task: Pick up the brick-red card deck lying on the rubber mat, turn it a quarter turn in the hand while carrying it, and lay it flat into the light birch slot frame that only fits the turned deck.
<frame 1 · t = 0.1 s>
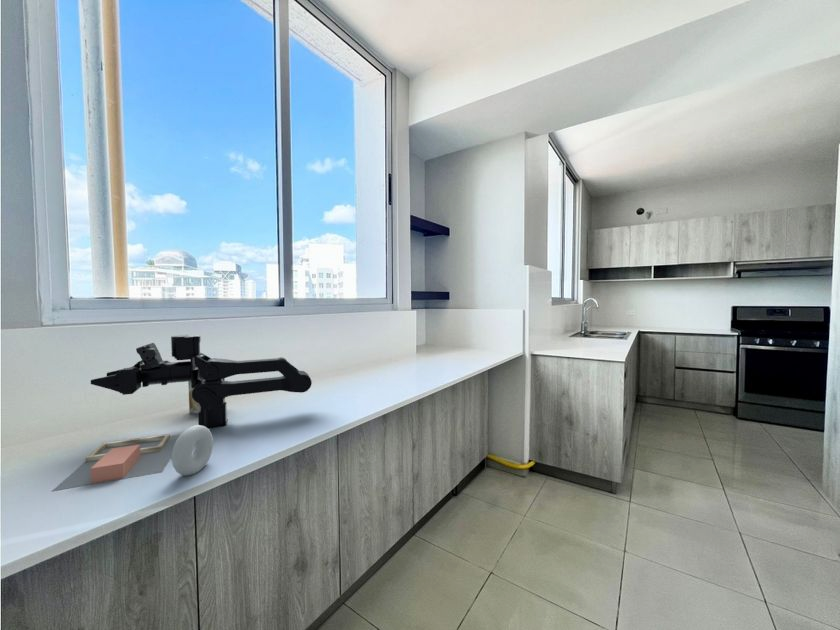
hand: (99, 378, 87), 17 cm above the worktop, tool horizontal, fingers open, 9 cm apart
mat: (131, 459, 77), on the worktop
slot frame: (131, 450, 81), resting on mat
coffee box: (207, 411, 112), on the worktop
card deck: (117, 469, 71), resting on mat
donut: (194, 473, 71), on the worktop
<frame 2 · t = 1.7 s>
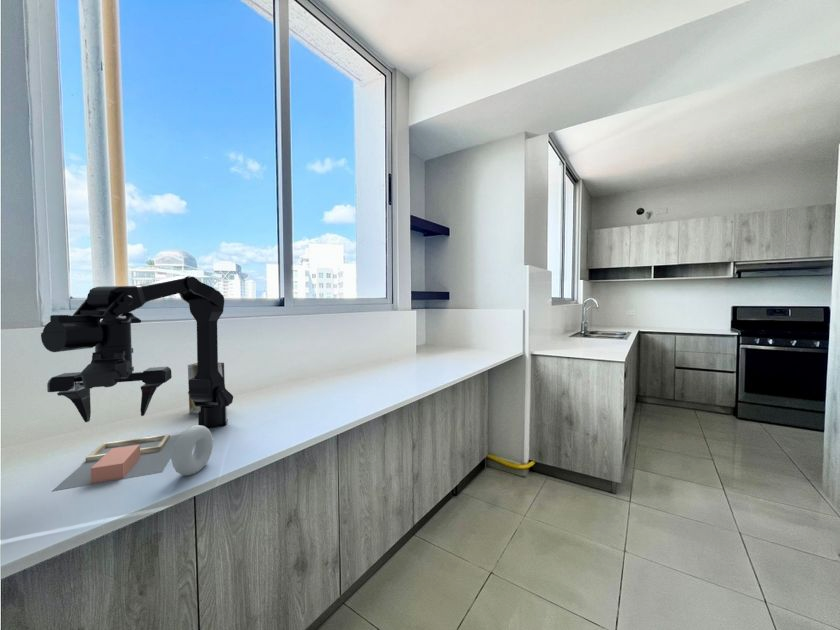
hand: (115, 418, 71), 11 cm above the worktop, tool pointing down, fingers open, 9 cm apart
nothing on the worktop moved.
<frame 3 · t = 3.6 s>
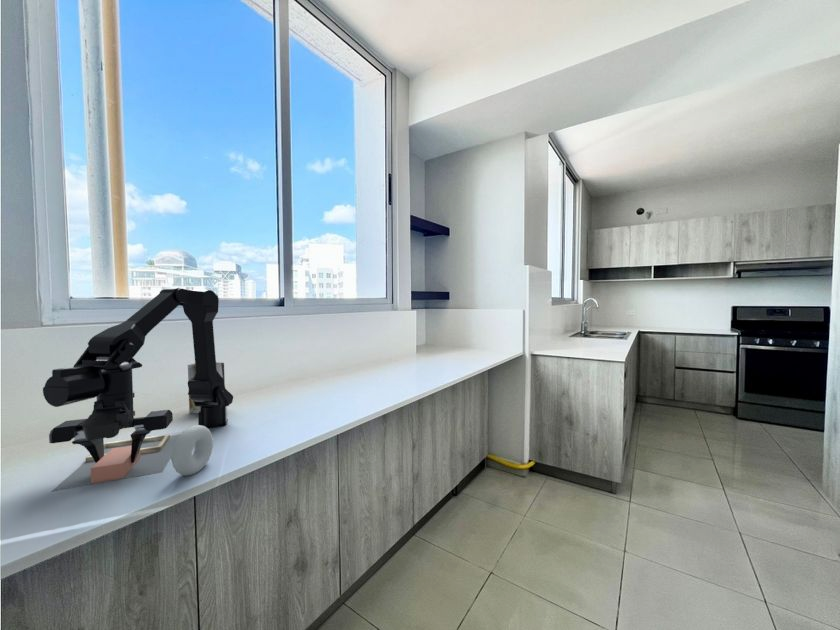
hand: (117, 464, 71), 2 cm above the worktop, tool pointing down, fingers closed on card deck, 5 cm apart
card deck: (117, 469, 71), resting on mat, touching gripper
everything else where it was.
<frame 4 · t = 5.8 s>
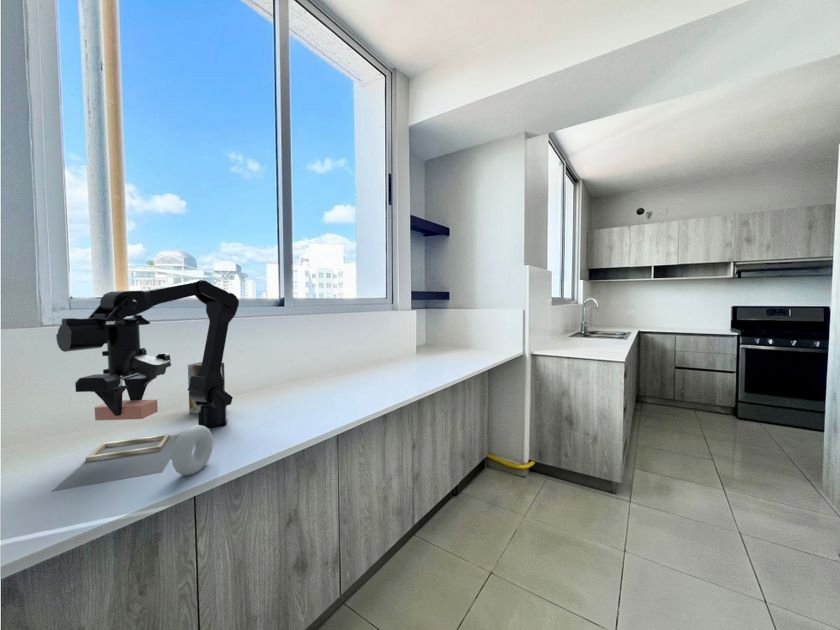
hand: (127, 411, 78), 11 cm above the worktop, tool pointing down, fingers closed on card deck, 5 cm apart
card deck: (127, 415, 78), point 10 cm above the worktop, touching gripper
everything else where it was.
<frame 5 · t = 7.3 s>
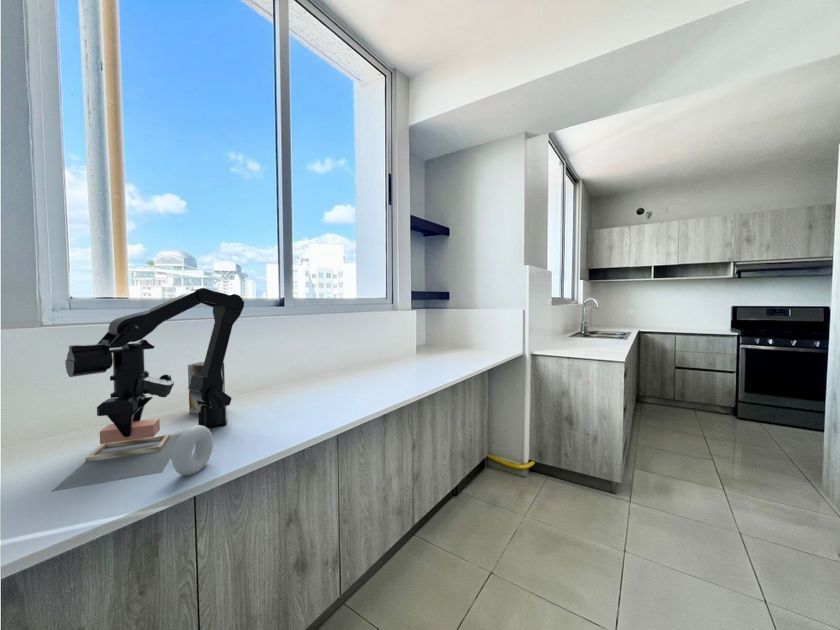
hand: (131, 432, 81), 4 cm above the worktop, tool pointing down, fingers closed on card deck, 5 cm apart
card deck: (131, 436, 81), point 3 cm above the worktop, touching gripper
everything else where it was.
when the fingers open (3 cm above the worktop, at t = 8.4 s): card deck drops 1 cm, resting on mat.
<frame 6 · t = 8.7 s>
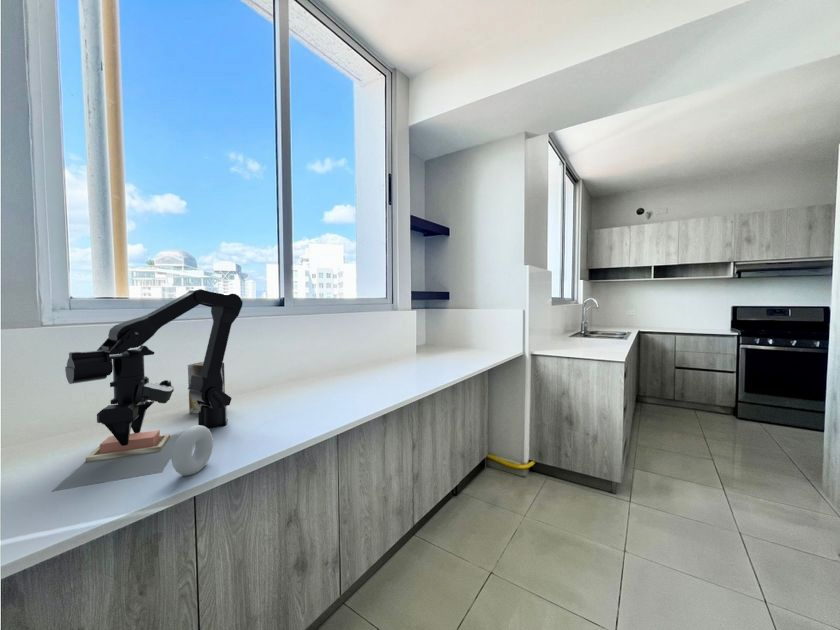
hand: (131, 438, 81), 3 cm above the worktop, tool pointing down, fingers open, 8 cm apart
card deck: (131, 448, 81), resting on mat
everything else where it was.
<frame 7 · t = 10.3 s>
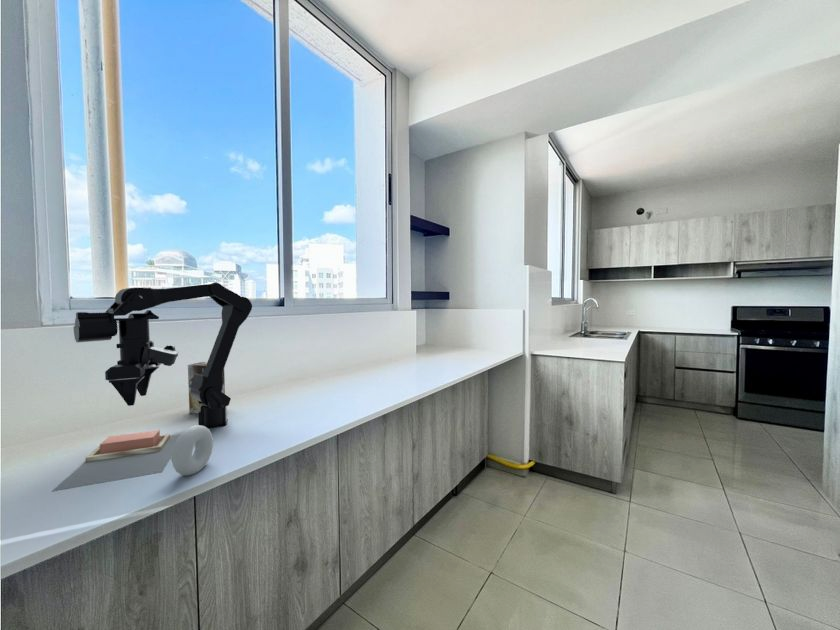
hand: (137, 400, 83), 12 cm above the worktop, tool pointing down, fingers open, 9 cm apart
nothing on the worktop moved.
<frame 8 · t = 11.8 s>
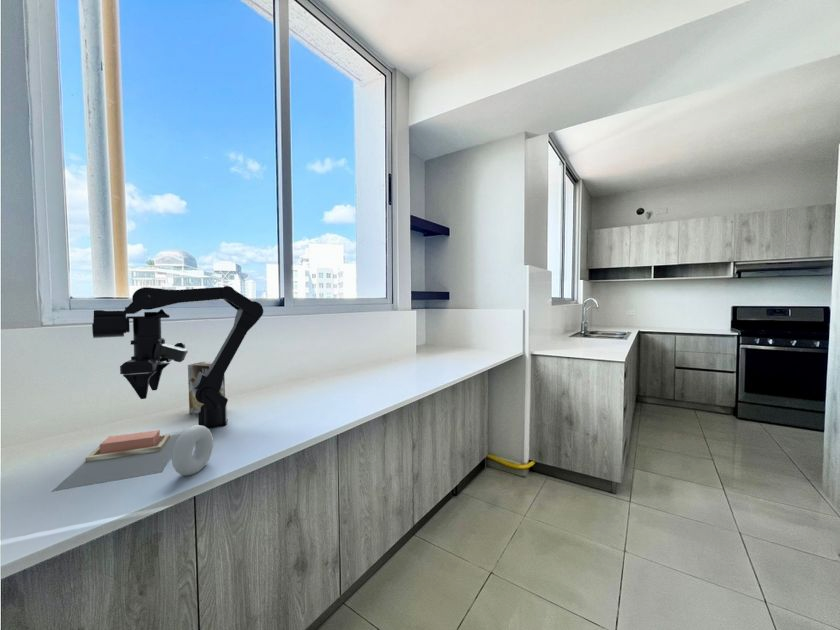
hand: (149, 394, 88), 12 cm above the worktop, tool pointing down, fingers open, 9 cm apart
nothing on the worktop moved.
at the end: card deck 0.0 cm off-centre on the slot frame, point 0.5 cm above the slot frame's base; card deck tilted 0°; the gripper is holding nothing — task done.
